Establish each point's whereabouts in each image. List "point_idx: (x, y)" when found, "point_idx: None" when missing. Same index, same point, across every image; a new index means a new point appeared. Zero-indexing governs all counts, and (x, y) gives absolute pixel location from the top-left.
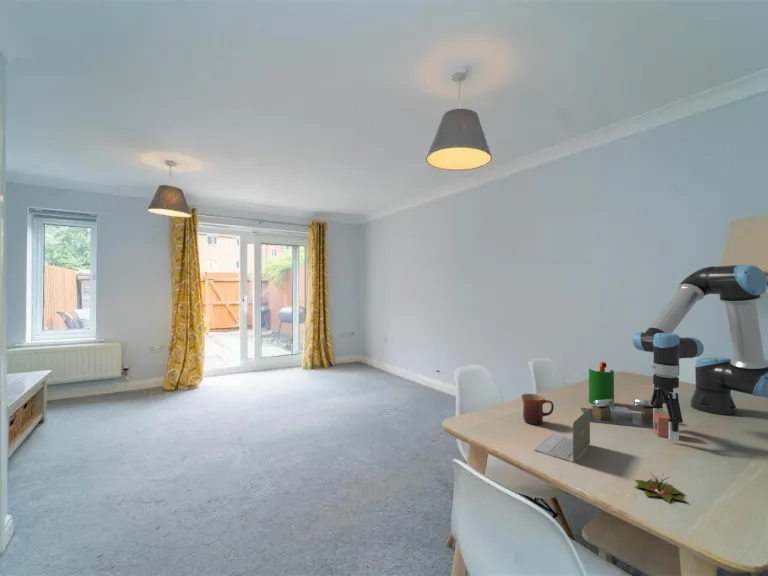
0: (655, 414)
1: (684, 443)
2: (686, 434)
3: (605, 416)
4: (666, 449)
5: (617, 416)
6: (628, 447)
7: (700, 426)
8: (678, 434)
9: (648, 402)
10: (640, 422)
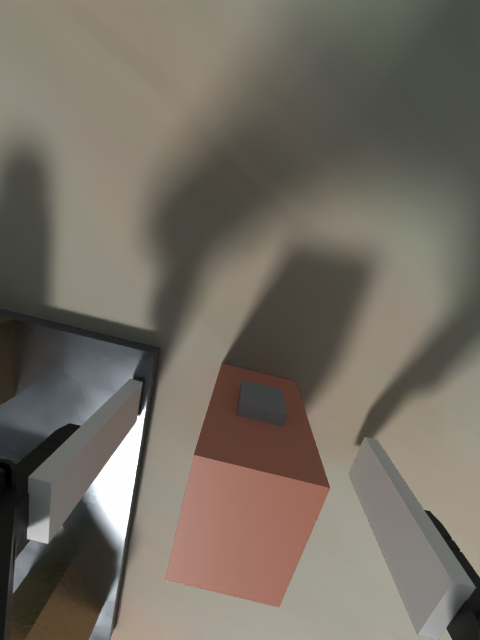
0: (190, 580)
1: (361, 392)
2: (221, 281)
3: (76, 607)
4: None
5: None
6: (392, 634)
7: (26, 29)
8: (397, 475)
9: None
10: None
